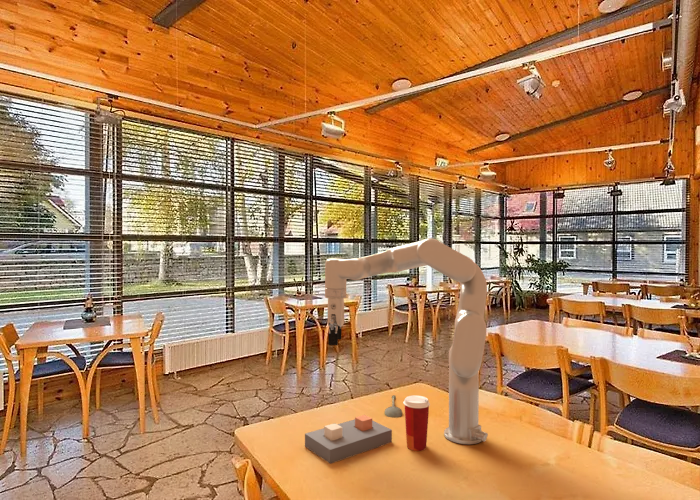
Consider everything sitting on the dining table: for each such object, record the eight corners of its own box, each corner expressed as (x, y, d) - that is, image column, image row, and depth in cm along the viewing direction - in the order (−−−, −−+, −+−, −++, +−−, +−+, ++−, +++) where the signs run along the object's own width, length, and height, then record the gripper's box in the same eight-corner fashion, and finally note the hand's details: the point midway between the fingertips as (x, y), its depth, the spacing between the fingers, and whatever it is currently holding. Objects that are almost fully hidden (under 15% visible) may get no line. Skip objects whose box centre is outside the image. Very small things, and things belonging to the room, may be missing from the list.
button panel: (391, 442, 141) (391, 429, 141) (330, 463, 127) (330, 449, 127) (364, 428, 152) (364, 416, 152) (304, 446, 138) (304, 433, 138)
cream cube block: (342, 440, 136) (342, 427, 136) (331, 444, 133) (331, 430, 133) (334, 436, 139) (334, 423, 139) (324, 439, 136) (324, 426, 136)
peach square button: (372, 431, 143) (372, 418, 143) (362, 434, 140) (362, 421, 140) (364, 427, 146) (364, 414, 146) (355, 430, 144) (355, 417, 144)
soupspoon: (384, 420, 162) (402, 422, 162) (384, 411, 162) (402, 413, 161) (386, 398, 184) (401, 399, 183) (386, 390, 184) (402, 391, 183)
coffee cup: (432, 444, 140) (432, 397, 140) (425, 454, 132) (426, 405, 132) (407, 439, 143) (407, 393, 143) (399, 449, 136) (399, 401, 136)
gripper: (343, 296, 145) (342, 347, 145) (348, 291, 163) (348, 337, 163) (320, 295, 146) (320, 347, 146) (328, 291, 163) (328, 336, 163)
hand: (335, 342), depth 154 cm, fingers open, 9 cm apart
